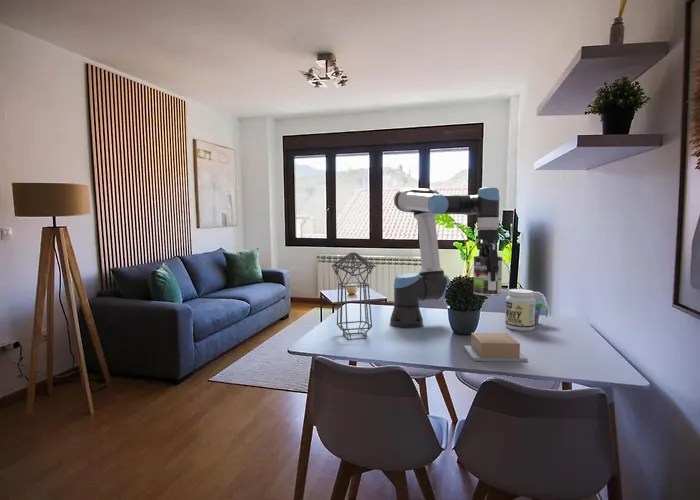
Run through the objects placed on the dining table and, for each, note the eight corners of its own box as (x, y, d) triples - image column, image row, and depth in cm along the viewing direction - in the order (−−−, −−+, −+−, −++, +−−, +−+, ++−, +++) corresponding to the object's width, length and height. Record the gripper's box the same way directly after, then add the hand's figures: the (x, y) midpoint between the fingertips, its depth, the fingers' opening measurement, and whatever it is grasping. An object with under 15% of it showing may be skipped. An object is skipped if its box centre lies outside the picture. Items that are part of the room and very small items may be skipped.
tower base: (473, 360, 137) (474, 343, 137) (463, 348, 151) (464, 332, 151) (527, 361, 136) (528, 344, 136) (512, 348, 150) (513, 332, 150)
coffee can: (487, 296, 146) (487, 258, 145) (467, 293, 155) (467, 256, 155) (508, 294, 150) (508, 257, 150) (487, 291, 160) (488, 255, 159)
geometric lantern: (340, 343, 158) (338, 253, 156) (332, 333, 173) (330, 252, 172) (378, 339, 161) (377, 252, 160) (367, 330, 177) (366, 251, 175)
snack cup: (508, 322, 190) (509, 301, 190) (514, 318, 199) (514, 298, 198) (545, 327, 181) (545, 305, 181) (549, 322, 190) (549, 301, 189)
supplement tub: (499, 327, 182) (500, 290, 181) (514, 323, 189) (515, 287, 188) (525, 333, 172) (526, 293, 171) (540, 328, 179) (541, 291, 178)
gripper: (509, 229, 140) (508, 292, 141) (488, 229, 163) (488, 283, 164) (487, 229, 140) (486, 292, 142) (470, 229, 163) (469, 284, 164)
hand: (487, 287), depth 153 cm, fingers closed on coffee can, 10 cm apart
